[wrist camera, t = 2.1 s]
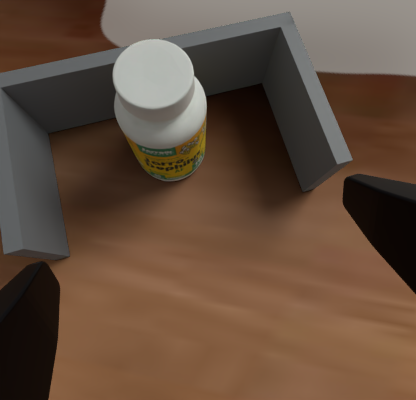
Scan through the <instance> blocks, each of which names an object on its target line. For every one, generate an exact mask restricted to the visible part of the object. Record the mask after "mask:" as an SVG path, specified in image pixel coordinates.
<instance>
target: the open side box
mask: <svg viewBox="0 0 416 400" xmlns="http://www.w3.org/2000/svg"><path fill="white" fill-rule="evenodd" d="M159 40H165V41H168V42H171V43H173V44H175V45H177V46H178V47H180V48H181V49H182V50H183V51H184V52H185V53H186V54H187V55H188V57H189V58H190V60H191V63H192V65H193V70H194V76H195V77H196V78H197V80H198V81H199V82H200V84H201V86H202V88H203V90H204V93H205V96H209V95H214V94H218V93H222V92H226V91H231V90H235V89H239V88H243V87H248V86H252V85H256V84H260V83H262V84H263V87H264V90H265V92H266V95H267V98H268V100H269V103H270V106H271V108H272V111H273V114H274V116H275V119H276V122H277V124H278V127H279V130H280V133H281V135H282V138H283V141H284V143H285V146H286V149H287V151H288V154H289V157H290V159H291V162H292V165H293V167H294V170H295V173H296V175H297V178H298V181H299V183H300V186H301V189H302V191H303V192H304V191H308V190H312V189H315V188H316V187H317V186H319V185H320V184H321V183H323V182H324V181H325V180H327V179H328V178H329V177H331V176H332V175H333V174H335V173H336V172H338V171H339V170H340V169H342V168H343V167H344V166H346V165H347V164H348V163H350V162H351V161H352V160H353V159H352V157H351V154H350V152H349V150H348V147H347V145H346V143H345V140H344V138H343V136H342V133H341V131H340V129H339V126H338V124H337V122H336V119H335V117H334V114H333V112H332V110H331V107H330V105H329V103H328V100H327V98H326V96H325V93H324V91H323V89H322V86H321V84H320V82H319V79H318V77H317V74H316V72H315V70H314V67H313V65H312V63H311V61H310V58H309V56H308V53H307V51H306V49H305V46H304V44H303V42H302V39H301V37H300V34H299V32H298V30H297V28H296V25H295V23H294V20H293V18H292V16H291V13H290V12H286V13H282V14H277V15H273V16H268V17H263V18H258V19H254V20H249V21H244V22H239V23H235V24H230V25H226V26H221V27H216V28H212V29H206V30H202V31H197V32H193V33H188V34H183V35H178V36H174V37H169V38H164V39H159ZM128 47H129V46H126V47H122V48H117V49H112V50H107V51H103V52H98V53H93V54H89V55H84V56H79V57H75V58H70V59H65V60H60V61H56V62H51V63H46V64H42V65H37V66H32V67H27V68H23V69H18V70H13V71H9V72H4V73H0V228H1V236H2V244H3V252H4V254H6V255H15V256H23V257H32V258H41V259H50V260H58V259H62V258H66V257H69V256H70V254H69V248H68V242H67V237H66V231H65V225H64V220H63V214H62V208H61V203H60V197H59V191H58V186H57V180H56V174H55V169H54V163H53V157H52V152H51V146H50V140H49V135H48V133H52V132H56V131H60V130H65V129H69V128H73V127H77V126H82V125H86V124H90V123H94V122H99V121H103V120H107V119H111V118H116V116H115V111H114V101H115V95H116V90H115V87H114V84H113V68H114V64H115V62H116V60H117V58H118V57H119V56H120V54H121V53H122V52H123V51H124V50H125V49H127V48H128Z"/></svg>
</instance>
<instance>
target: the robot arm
mask: <svg viewBox="0 0 416 400" xmlns="http://www.w3.org/2000/svg"><path fill="white" fill-rule="evenodd" d="M343 205H344V207H345V209H346V210H347V211H348V213H349V214H350V216H351V217H352V218H353V220H354V221H355V223H356V224H357V225H358V227H359V228H360V230H361V231H362V232H363V234H364V235H365V236H366V238H367V239H368V241H369V242H370V243H371V244H372V246H373V247H374V248H375V249H376V250H377V251H378V253H379V254H380V255H381V256H382V257H383V258H384V259H385V260H386V262H387V263H388V264H389V265H390V266H391V267H392V268H393V269H394V270H395V272H396V273H397V274H398V275H399V276H400V277H401V278H402V279H403V281H404V282H405V283H406V284H407V285H408V286H409V287H410V288H411V289H412V291H413V292H414V293H415V294H416V184H411V183H406V182H400V181H395V180H390V179H384V178H379V177H374V176H369V175H363V174H356V175H352V176H348V177H346V178H345V180H344V187H343ZM59 303H60V285H59V282H58V280H57V278H56V277H55V275H54V274H53V272H52V270H51V269H50V267H49V266H48V264H47V263H46V262H43V261H41V262H37V263H33V264H30V265H28V266H26V267H25V268H24V269H23V270H22V271H21V272H20V273H19V274H18V275H16V276H15V277H14V278H13V279H12V280H11V281H10V282H9V283H8V284H7V285H5V286H4V287H3V288H2V289H1V290H0V400H48V398H49V392H50V386H51V380H52V373H53V367H54V361H55V355H56V349H57V341H58V327H59Z"/></svg>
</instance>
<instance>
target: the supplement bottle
mask: <svg viewBox="0 0 416 400" xmlns="http://www.w3.org/2000/svg"><path fill="white" fill-rule="evenodd" d="M113 84H114V87H115V90H116V95H115V101H114V111H115V116H116V119H117V122H118V124H119V126H120V128H121V130H122V132H123V133H124V135H125V137H126V139H127V141H128V143H129V145H130V146H131V148H132V150H133V152H134V154H135V156H136V158H137V159H138V161H139V163H140V165H141V166H142V168H143V169H144V170H145V171H146V172H147V173H148V174H150V175H151V176H153V177H155V178H157V179H160V180H163V181H177V180H181V179H184V178H186V177H188V176H190V175H191V174H192V173H193V172H194V171H195V170H196V169H197V168H198V166H199V165H200V164H201V162H202V160H203V157H204V154H205V137H206V114H207V103H206V96H205V93H204V90H203V88H202V86H201V84H200V82H199V81H198V80H197V78H196V77H195V76H194V70H193V65H192V63H191V60H190V58H189V57H188V55H187V54H186V53H185V52H184V51H183V50H182V49H181V48H180V47H178V46H177V45H175V44H173V43H171V42H168V41H165V40H156V39H151V40H144V41H140V42H137V43H135V44H133V45H131V46H129V47H128V48H127V49H125V50H124V51H123V52H122V53H121V54H120V56H119V57H118V58H117V60H116V62H115V64H114V68H113Z"/></svg>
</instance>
